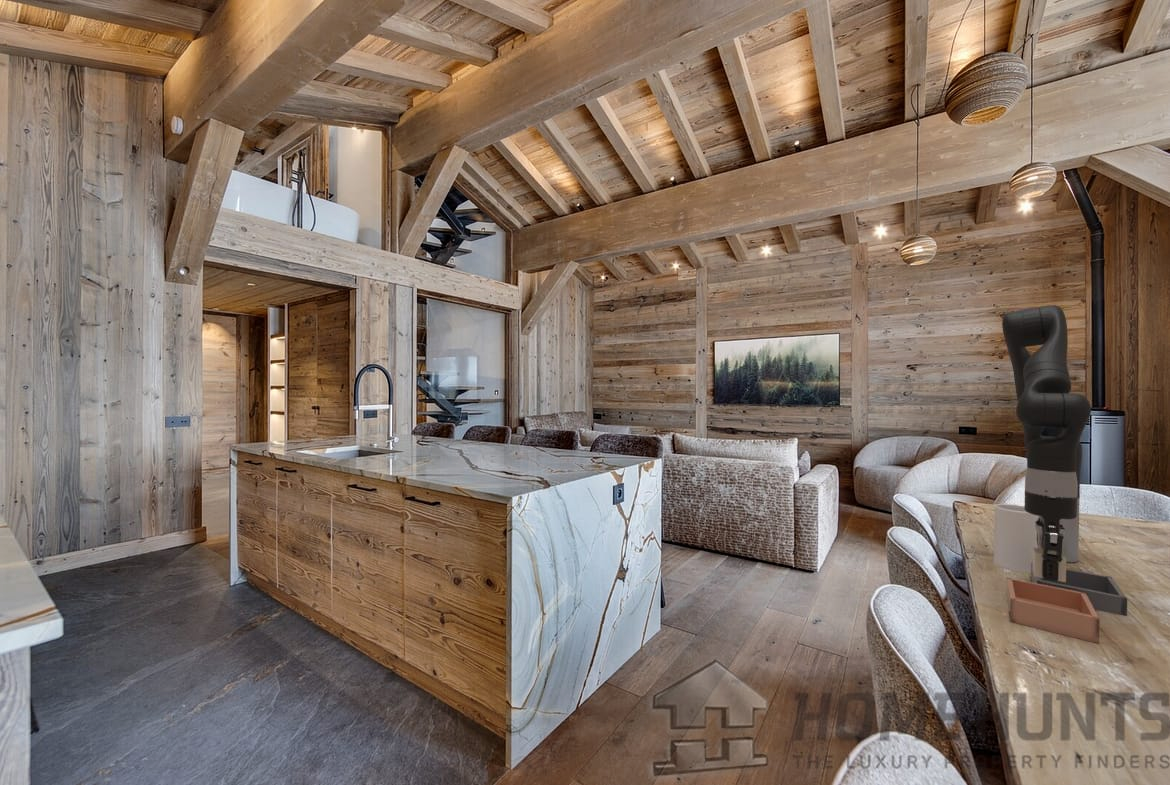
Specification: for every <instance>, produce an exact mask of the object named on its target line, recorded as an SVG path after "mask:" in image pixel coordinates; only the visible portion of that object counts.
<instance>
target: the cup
mask: <svg viewBox="0 0 1170 785" xmlns="http://www.w3.org/2000/svg"><path fill="white" fill-rule="evenodd" d="M1024 506H1025V505H1020V504H1019V505H1018V504H1012V503H1011V504H1010V503H1009V504H1008V503H996V504H994V518H993V519H994V524H993V525H994V526H993V530H994V531H993V563H994V565H996V566H998V567H1001V568H1003V569H1006V570H1011V571H1015V572H1022V573H1031V563H1033V547H1036V548H1038V545H1037V540H1036V532H1037V530H1036V528H1035V521H1037V520H1038V516H1037V515H1033V514H1030V513H1028V512H1026V511H1025V509H1024Z"/></svg>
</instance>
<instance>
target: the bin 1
mask: <svg viewBox="0 0 1170 785" xmlns="http://www.w3.org/2000/svg"><path fill="white" fill-rule="evenodd" d="M1006 598H1007V604H1008V616H1009V622H1011V623H1013V624H1019V625H1023V626H1027V627H1031V628H1035V629H1038V630H1039V629H1040V630H1043V631H1047V632H1051V633H1056V634H1059V635H1064V636H1067V637H1072V638H1076V639H1080V640H1083V641H1088V642H1093V643H1097V644H1100V625H1101V624H1100V622H1101V620H1100V617H1099V614H1098V613H1097V611H1096V609H1094V608H1093V606H1092V604H1091V602H1090V600H1089V599H1088V597H1087V595H1086V593H1082V592H1077V591H1072V590H1067V589H1062V588H1057V587H1052V586H1047V585H1042V584H1037V583H1033V582H1032V581H1027V580H1023V579H1016V578H1012V577H1006Z"/></svg>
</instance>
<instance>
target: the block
mask: <svg viewBox="0 0 1170 785" xmlns="http://www.w3.org/2000/svg"><path fill="white" fill-rule="evenodd" d="M1047 553H1048V554H1054V555H1056V551H1052V550H1048V551H1047ZM1041 555H1042V548H1036V547H1033V573H1034V576H1036V577H1041V578H1043V576H1042V562H1043V560H1042V558H1041ZM1061 558H1062V561H1061V562H1060V563H1059V567H1058V581H1061V582H1066V569H1067V562H1066V557H1065V555H1064V553H1063V552H1062V557H1061Z"/></svg>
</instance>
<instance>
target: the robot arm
mask: <svg viewBox="0 0 1170 785" xmlns="http://www.w3.org/2000/svg"><path fill="white" fill-rule="evenodd" d="M1066 318H1067V317H1066V314H1065V311H1064V310H1063V309H1062V307H1060V306H1058V305H1056V304H1051V305H1050V304H1049V305H1042V306H1037V307H1031V308H1025V309H1020V310H1014V311H1011V312H1007V313H1006V314H1004V316H1003V318H1002V322H1001V328H1002V334H1003V337H1004V341H1005V345H1006V347H1007V351H1008V355H1009V360H1010V362H1011V367H1012V370H1013V378H1014V387H1015V393H1016V400H1017V404H1016V407H1015V414H1016V418H1017V419H1018V421H1019V422H1020V423H1022V426H1023V436H1024V447H1025V448H1024V450H1025V457H1026V471H1025V472H1026V473H1025V477H1024V505H1023V506H1024V509H1025V511H1026V512H1028V513H1030V514H1033V515H1037V516H1038V520H1037V521H1035V528H1036V530H1037V532H1036V540H1037V545H1038V548H1042V555H1041V558H1042V560H1043V562H1042V576H1043V578H1044V579H1047V580H1052V581H1058V567H1059V563H1060V562H1061V561H1062V558H1061V557H1062V552H1063V553H1064V555H1065V557H1066V563H1076V562H1077V563H1078V562H1079V548H1080V546H1079V544H1080V542H1079V541H1080V495H1081V492H1080V491H1081V488H1080V487H1081V484H1080V483H1081V468H1082V460H1083V445H1082V443H1081V442H1080V439H1081V436H1082V434H1083V431H1084V430H1085V427H1086V425H1087V423H1088V421H1089V420H1090V416H1091V413H1092V406H1091V402H1090V401H1089V400H1088V399H1087V397H1086V396H1084V395H1082V394H1080V393H1071V391H1072V380H1071V376H1070V373H1069V368H1068V361H1067V360H1068V346H1069V345H1068V344H1069V342H1068V339H1069V338H1068V337H1069V336H1068V333H1069V332H1068V323H1067V319H1066ZM1034 346H1035V347H1036V346H1040V347H1039V348H1038V349H1037V350H1036V351H1035V352H1034V353H1032V354H1031V353H1030V352H1029V351H1028V349H1027V348H1028V347H1034ZM1046 428H1047V429H1048V428H1049V429H1062V432H1061V433H1060V434H1059V435H1057V436H1045V435H1042V433H1043V432H1044V431H1045V429H1046ZM1048 550H1052V551H1056V555H1054V554H1048V553H1047V551H1048Z"/></svg>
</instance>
